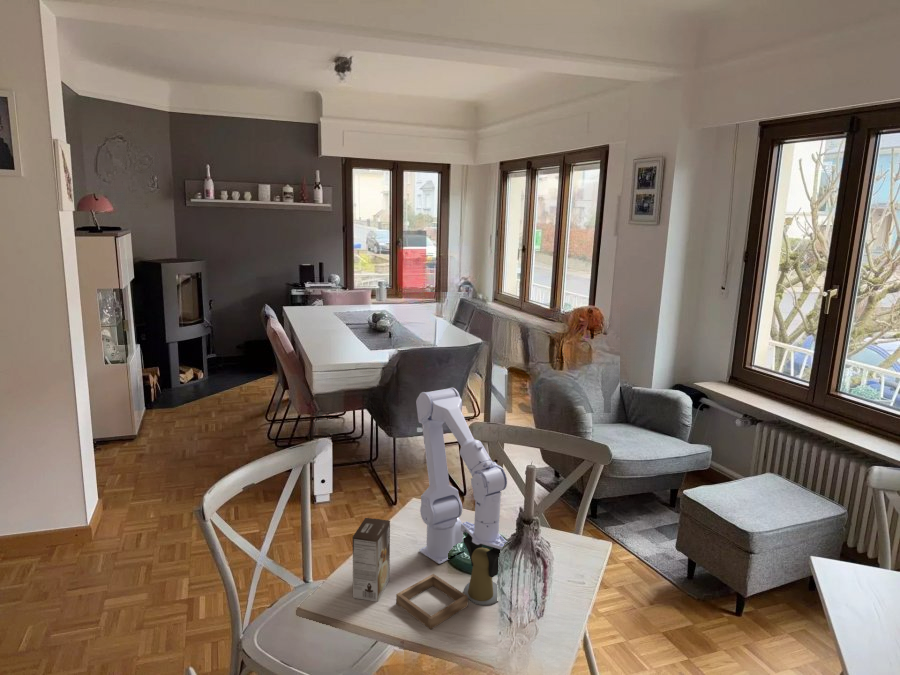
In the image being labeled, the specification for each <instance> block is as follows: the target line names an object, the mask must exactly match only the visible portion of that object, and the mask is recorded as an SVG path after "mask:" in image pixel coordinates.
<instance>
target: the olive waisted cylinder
mask: <svg viewBox="0 0 900 675" xmlns="http://www.w3.org/2000/svg"><path fill="white" fill-rule="evenodd" d="M489 550H490V549H489V548H486V547H482V548H477V549H475V550H474V551H473V553H472V558H471V559H472V563H473V566H472V569H471V575H470V580H469V582H470V584H469V589H468V595H469V596H470V597H471V598H472V599H474V600H477V601H486V600H489V599H491V598H492V597H493V582H494V581H493V577H490V576H489V560H488V556H487V554H486V552H488V551H489ZM471 559H470V560H471Z"/></svg>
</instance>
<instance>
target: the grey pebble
mask: <svg viewBox="0 0 900 675" xmlns="http://www.w3.org/2000/svg"><path fill="white" fill-rule="evenodd" d="M492 582H493V597H492V598H491V599H489V600H486V601H477V600H474V599H472V598H471V597H470V596H469V595H468V589H469V584H470V581H469V582H468V583H466V585H465V586H464V591H463V594H465V595H466V596H468V601H469V602H470V603H473V604H475V605H479V606H490V605H491V606H492V605H495V604H497V603H498V602H497V585H498V584H497V583H496V582H494V581H492Z"/></svg>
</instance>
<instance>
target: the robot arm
mask: <svg viewBox="0 0 900 675" xmlns="http://www.w3.org/2000/svg"><path fill="white" fill-rule="evenodd" d="M415 402H416V405H415V406H416V412H417V419H418V420H417V421H418V423H419V424H421V425H422V426H421V427H422V435H423V443H424V450H425V460H426V467H427V475H428V484H429V485H428V487H427V489H425V490H424V492H423V493H422V494H421V495H420V508H419V513H420V516H421V520H422V521H423V523H424V524H425V525H426V545H425V546H423V547H422V548H420V549H419V551H418V552H419V553H421V554H422V555H424V556H426V557H427V558H429V559H430V560H432V561H434V562H435V563H437V564H439V565H441V564H442V563H443V564H444V562H447V561H448V560H449V559H448V553H449V551H450V550H451V549H452V548H453V546H454V545H456V544H458V543H461V542H463V544H464V545H465V547H466V549H467V552H468V555H469V557H470V558H469V559H470V564H471V566H472V567H473V563H472V559H471V558H472V553H473V551H474V550H475V549H477V548H483V546H487V547H491V549H489V551H488V552H486V554H487V556H488V560H489V576H490V577H492V578H493V577H495V576H497V575H498V574H499V570H498V557H499V553H500V550H501V548H502V547H503V546H504V544H505V543H506V542H508V541H507V540H506V539H505V538H504V536H502V535H501V534H500V533H499V532H500V517H501V500H502V499H501V498H502V496H501V495H502V491H504V490H506V488H507V487H508V486H507V485H508V478H507V475H506V472H505V470H504V468H503V467H502V466H501V465H499V464H497V461H493V460H492V459H491V458H492V457H490V455H489V453H488V452H487V450H486V448H485V446H484V445H483V442H481V440H478V439H475V438H474V436H473V434H472V432H471V429H470V427H469V424H468V423H467V421H466V418H465V416H464V414H463V413H462V407H463V400H462V398H461V396H460V393H459V391H458V390H457V389H456V388H455V387H448V388H445V389H443V388H442V389H439V390H433V391H426V392H425V391H422V392H420V393H419V395H418V396H417V398H416V400H415ZM444 423H445V424H446V426H447V427H448V428H449V430H450V432H451V434H453V436H454V438H455V439H456V441H457V442H458V444H459V445H460V449H459V456H460V457H461V458H462V461H463V462H464V464H465V465H466V467H467V469H468V471H469V473H470V475H471V478H470V484H471V488H472V490H473V499H474V501H475V505H474V523H472V522H469V521H467V520H466V521H465V522H462V520H461V519H460V517H461V516H462V515H463V514H462V513H463V503H462V500H461V498H460V495H459V490H458V489H457V488H456V487H454V486H452V485H451V484H450V479H449V478H450V477H449V470H448V462H447V455H446V454H447V453H446V446H445V436H444V428H443V425H444ZM464 533H467V535H466V536H465V537H464Z"/></svg>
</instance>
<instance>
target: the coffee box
mask: <svg viewBox="0 0 900 675" xmlns="http://www.w3.org/2000/svg"><path fill="white" fill-rule="evenodd" d="M390 522H391V520H388V519H379V518H373V517H371V518H370V517H364V519H363V520H362V522H361V524H360V525H359V527H358V528H357V530H356V531H355V533H354V534H353V535H352V598H353V599H359V600H365V601H371V602H379V600H380V599H381V597H382V595H383V593H384V591H385V589H386V587H387V585H388V583H389V581H390V574H391V573H390V572H391V571H390V568H391V567H390V566H391V565H390V562H391V560H390V558H391V557H390V556H391V555H390V552H391V547H390V545H391V544H390V542H391V523H390Z"/></svg>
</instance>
